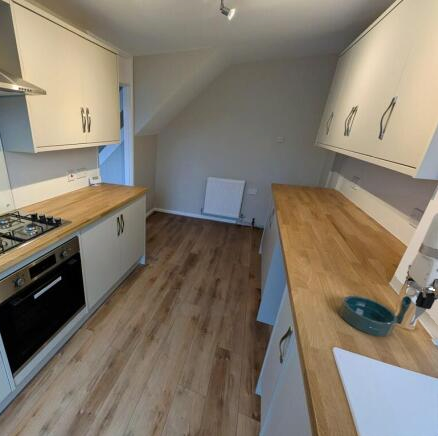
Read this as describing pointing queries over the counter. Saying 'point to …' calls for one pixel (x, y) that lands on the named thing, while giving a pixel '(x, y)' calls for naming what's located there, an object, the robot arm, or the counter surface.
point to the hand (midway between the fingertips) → (415, 298)
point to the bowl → (368, 315)
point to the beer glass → (409, 305)
